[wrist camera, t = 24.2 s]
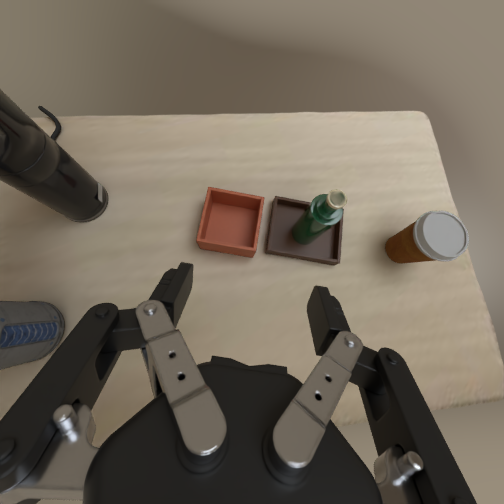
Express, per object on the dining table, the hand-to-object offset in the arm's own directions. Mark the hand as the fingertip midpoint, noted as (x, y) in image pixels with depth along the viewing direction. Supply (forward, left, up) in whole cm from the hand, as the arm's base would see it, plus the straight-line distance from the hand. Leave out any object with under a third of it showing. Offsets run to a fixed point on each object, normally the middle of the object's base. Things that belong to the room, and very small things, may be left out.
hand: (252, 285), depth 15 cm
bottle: (+1, +20, -32) cm, 38 cm away
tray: (0, +20, -33) cm, 39 cm away
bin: (-11, +10, -33) cm, 36 cm away
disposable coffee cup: (+19, +33, -33) cm, 50 cm away
